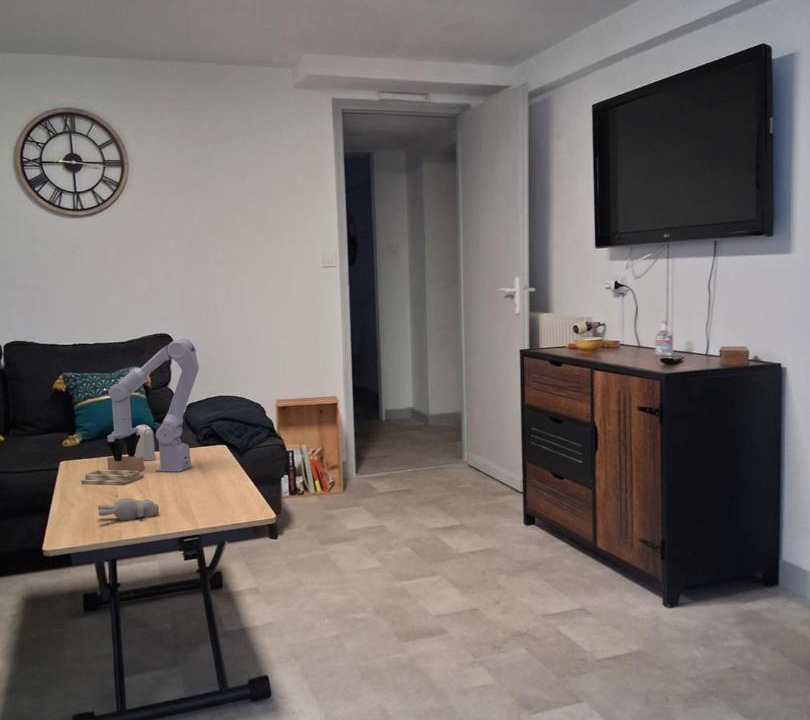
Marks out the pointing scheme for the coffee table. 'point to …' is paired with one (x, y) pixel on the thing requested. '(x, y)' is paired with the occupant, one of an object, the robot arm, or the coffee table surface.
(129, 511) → the bunny figurine
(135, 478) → the framed rectangular tray
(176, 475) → the coffee table surface
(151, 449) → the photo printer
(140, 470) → the clay strip
